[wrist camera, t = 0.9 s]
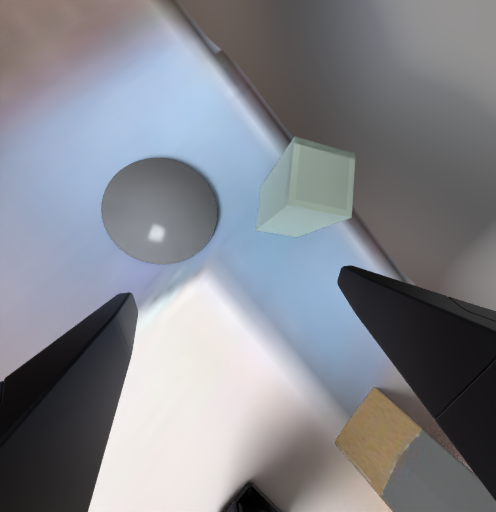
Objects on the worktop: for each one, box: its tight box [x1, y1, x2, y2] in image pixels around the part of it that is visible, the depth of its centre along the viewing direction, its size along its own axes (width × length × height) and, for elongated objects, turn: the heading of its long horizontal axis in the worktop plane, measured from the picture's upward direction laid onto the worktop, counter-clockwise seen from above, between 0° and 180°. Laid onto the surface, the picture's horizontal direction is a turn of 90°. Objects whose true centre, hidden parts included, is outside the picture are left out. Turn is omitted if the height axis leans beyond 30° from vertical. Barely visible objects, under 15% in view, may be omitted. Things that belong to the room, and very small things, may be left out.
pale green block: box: [255, 137, 356, 237], centre depth 19 cm, size 5×5×9 cm
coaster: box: [101, 158, 217, 264], centre depth 20 cm, size 11×11×1 cm
